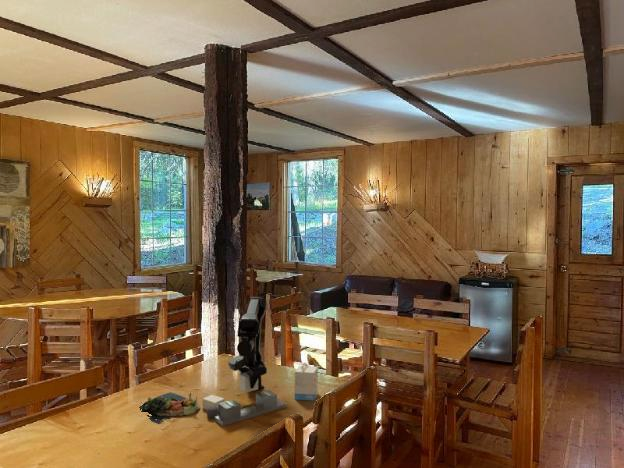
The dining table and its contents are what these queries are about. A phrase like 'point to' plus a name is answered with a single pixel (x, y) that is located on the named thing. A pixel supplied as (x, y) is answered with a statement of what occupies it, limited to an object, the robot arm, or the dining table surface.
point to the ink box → (306, 382)
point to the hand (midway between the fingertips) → (248, 386)
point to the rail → (248, 408)
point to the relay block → (212, 401)
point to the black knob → (212, 412)
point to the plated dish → (169, 407)
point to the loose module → (246, 383)
